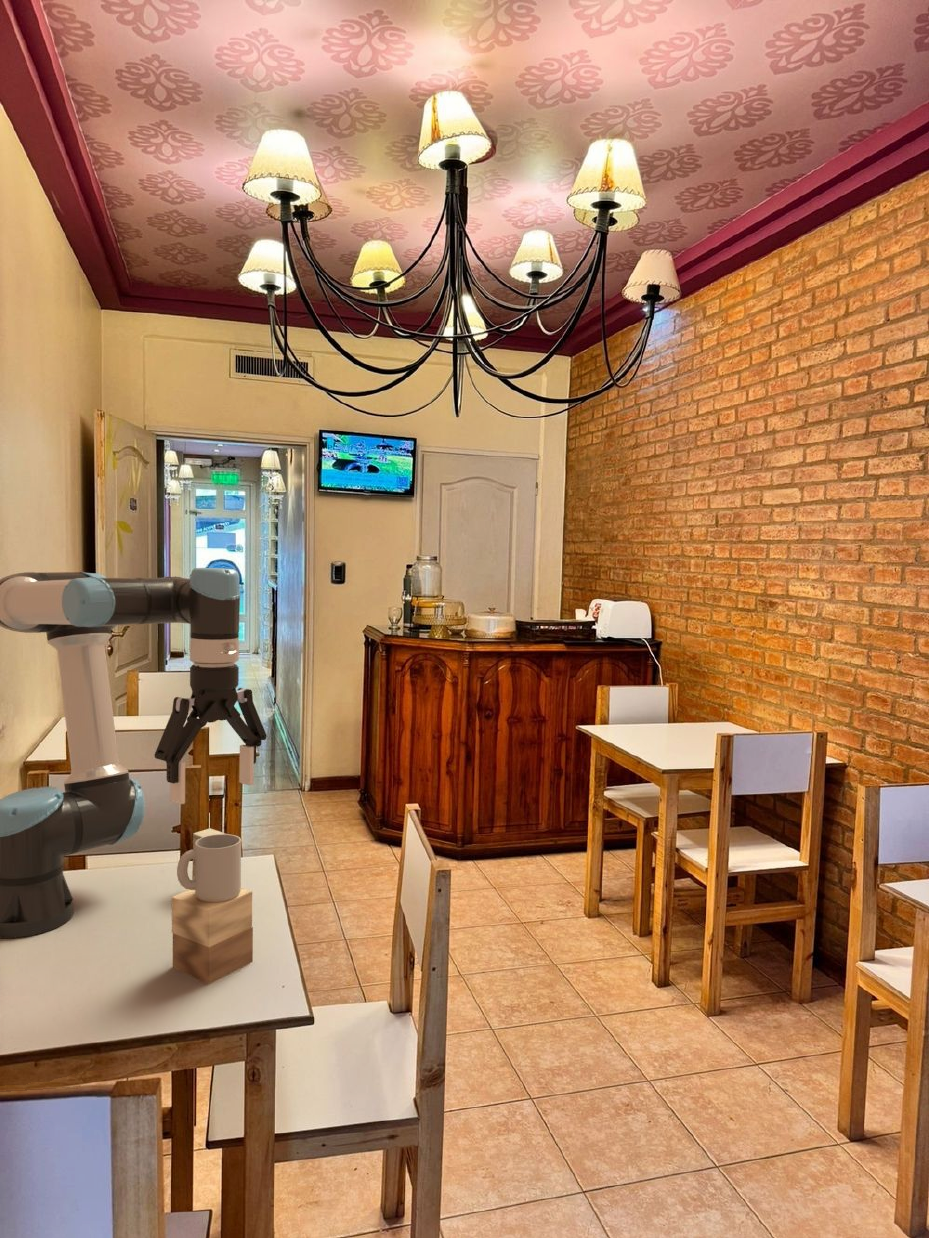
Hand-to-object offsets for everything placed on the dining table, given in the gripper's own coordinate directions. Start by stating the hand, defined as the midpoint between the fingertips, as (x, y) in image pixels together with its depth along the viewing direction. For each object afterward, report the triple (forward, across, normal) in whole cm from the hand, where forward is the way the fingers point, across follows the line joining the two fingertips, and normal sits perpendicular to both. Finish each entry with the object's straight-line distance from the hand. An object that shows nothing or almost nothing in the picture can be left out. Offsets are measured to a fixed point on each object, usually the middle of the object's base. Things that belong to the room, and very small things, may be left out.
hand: (213, 792), depth 132 cm
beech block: (+23, 0, 0) cm, 23 cm away
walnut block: (+29, 0, 0) cm, 29 cm away
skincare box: (+29, +18, +24) cm, 42 cm away
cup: (+17, -1, 0) cm, 17 cm away
